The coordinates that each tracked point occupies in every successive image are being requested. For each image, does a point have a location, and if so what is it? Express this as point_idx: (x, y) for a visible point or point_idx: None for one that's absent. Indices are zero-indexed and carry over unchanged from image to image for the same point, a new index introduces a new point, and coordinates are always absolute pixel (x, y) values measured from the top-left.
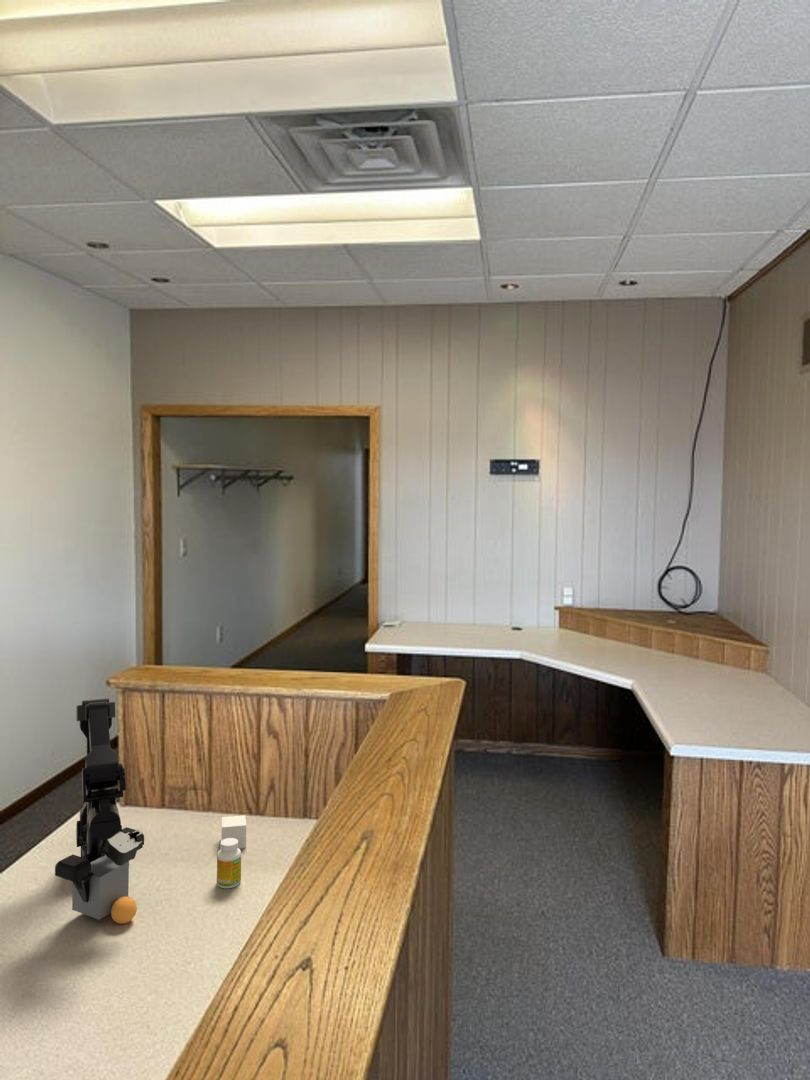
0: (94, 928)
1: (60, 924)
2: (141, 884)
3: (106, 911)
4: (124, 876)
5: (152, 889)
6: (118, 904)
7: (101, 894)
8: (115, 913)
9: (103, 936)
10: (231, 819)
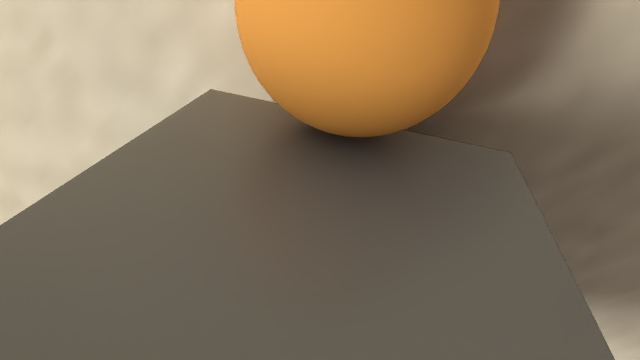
0: None
1: None
2: (26, 155)
3: (433, 150)
4: (77, 250)
5: (6, 64)
6: (447, 42)
7: (560, 316)
8: (493, 28)
9: (604, 27)
10: None
